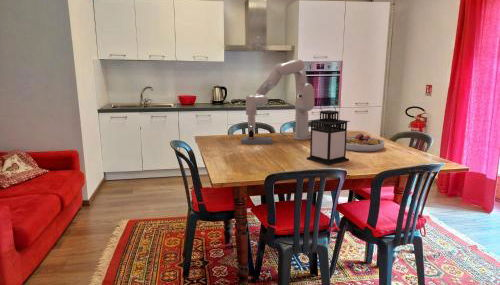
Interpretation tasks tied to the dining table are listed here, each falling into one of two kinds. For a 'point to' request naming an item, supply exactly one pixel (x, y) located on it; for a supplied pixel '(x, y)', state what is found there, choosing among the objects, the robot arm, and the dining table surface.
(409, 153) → the dining table surface
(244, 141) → the board
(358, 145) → the bowl
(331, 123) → the lantern
